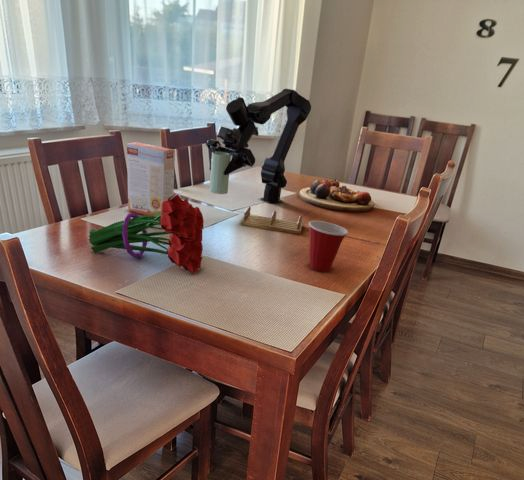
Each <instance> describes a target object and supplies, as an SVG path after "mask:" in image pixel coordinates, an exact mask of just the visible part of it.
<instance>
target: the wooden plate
mask: <svg viewBox="0 0 524 480" xmlns="http://www.w3.org/2000/svg"><path fill="white" fill-rule="evenodd" d="M298 195H299V197H300V198H301V199H302V201H304V202H306V203H308V204H309V203H310V204H312V205H314V206H317V207H321V208H325V209H330V210H334V211H341V212H342V211H343V212H357V213H358V212H367V211H370V210H372V209H373V208H374V207H375V201H374V200H373V199H372V196H371V195H370V193H369V192H368V191H360V190H353V189H350V188H348V187H347V186H346V185H342V186H340V181H339V180H338V179H336V178H334V179H332V180H329V179H323V180H320V179H316V180H314V181H313V182H312V183H310V186H309V187H304V188H302V189H300V191H299V193H298Z"/></svg>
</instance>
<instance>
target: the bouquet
mask: <svg viewBox="0 0 524 480" xmlns="http://www.w3.org/2000/svg"><path fill="white" fill-rule="evenodd" d="M172 197H173V196H171V197H170V198H168V199H167V200H165V201H163V202H162V212H161V213H162V214H160V215H159V216H152V215H139V214H138V213H136V212H129V213H127V214H126V215H125V217H124V220H120V221H116V222H114V223H112V224H109V225H106V226H104V227H102V228H100V229H90V230H89V235H88V237H89V238H88V241H89V243H90V244H91V247H90V249H91V250H92V251H93V253H94V254H96V253H99V252H102V251H105V250H108V249H110V248H111V249H119V250H126V252H127V254H129V255H130V256H131V257H132V258H141V257H142V256H143V255H144V253H145V252H147V253H149V252H151V253H156V254H157V253H158V254H162V255H167V258H168V260H169V261H170V262H171V263H172V264H174V265H176V266H177V267H179V268H183V269H184V271H187V272H188V273H191V274H193V275H195V274H196V273H197V272H199V270H200V269H201V268H202V261H203V256H202V254H203V249H204V248H203V242H202V241H203V229H204V224H205V223H204V222H205V221H204V216H203V213H202V211H201V209H200V207H198V206H195V207H194V206H193V204H192V203H190V202H189V200H188V198H186V197H183V198H181V196H180V195H179V194H176V195H174V197H173V198H172ZM171 198H172V199H171ZM170 199H171V200H170ZM148 229H154V230H161V231H154V232H153V231H152V232H148ZM163 235H169V238H166V237H163ZM150 242H151V243H153V244H154V245H156V246H159V248H162V249H164V250H162V249H159V248H154V247H147V245H148V243H150ZM136 243H137V244H139V243H141V246H140V245H133V244H136ZM164 245H166V246H169V247H168V248H167V247H166V246H164ZM134 251H137V252H134Z"/></svg>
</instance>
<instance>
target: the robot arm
mask: <svg viewBox="0 0 524 480" xmlns="http://www.w3.org/2000/svg"><path fill="white" fill-rule="evenodd" d="M284 107H286V122H285V124H284V127H283V128H282V132H281V134H280V136H279V139H278V141H277V144H276V146H275V149H274V151H273V153H272V156H270V157H269V158H268V157H266V158H265V159H264V161H263V164H262V166H261V170H260V178H261V184H265V185H264V190H263V197H260V200H262V201H265V202H266V203H269V204H276V203H283V200H282V199H281V193H282V189H284V188H286V186H287V184H288V181H287V179H286V176H285V171H286V167H285V161H286V158H287V155H288V153H289V151H290V148H291V146H292V143H293V141H294V139H295V136H296V134H297V131H298V129H299V127H300V125H302V124H303V123H304V122H305V121H306V120H307V119H308V117H309V115H310V113H311V110H312V104H311V102H310V100H309V99H306V97H304V96H302V95H301V94H299V92H297V90H295V89H292V88H283V89H282V90H281V91H280V92H278V93H276V94H275V95H272V96H271V97H269V98H267V99H265V100H263V101H256V102H251V103H249V104H246V101H245V99H244V97H240V96H238V97H237V98H236V99H233V100H231V101H230V102H228V103H227V104H226V106H225V110H226V112H227V114H228V116H229V118H230V120H231V122H232V125H234V126H236V128H235V127H234V128H229V127H225V126H221V125H219V128H218V131H217V133H216V137H217V138H220V139H221V140H222V141H221V142H220V140H217V139H213V138H209V139H208V140H207V141H206V143H205V146H206V147H207V149H208V151H209V152H210V153H211V154H212V152H226V153H229V154H231V159H230V163H229V164H228V166H227V168H226V169H225V171H224V175H227V174H229V175H230V174H231V173H234V172H235V171H237V170H239V169H241V168H246V167H249V168H250V167H251V168H253V166H255V163H256V157H255V155H254V154H253V151H252V150H251V149H250V148H249V144H248V143H249V141H250V140H251V138H253V136H256V137H258V136H259V127H258V126H256V125H257V124H258V125H264V124H266V123H267V122H268V121H269V120H270V119H271V117H272V115H273V114H274V113H276V112H278V111H279V110H281V109H283V108H284ZM221 143H222V144H223V145H222V144H221ZM211 161H212V159H210V162H211ZM209 170H210V172H211V163H210V165H209Z"/></svg>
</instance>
